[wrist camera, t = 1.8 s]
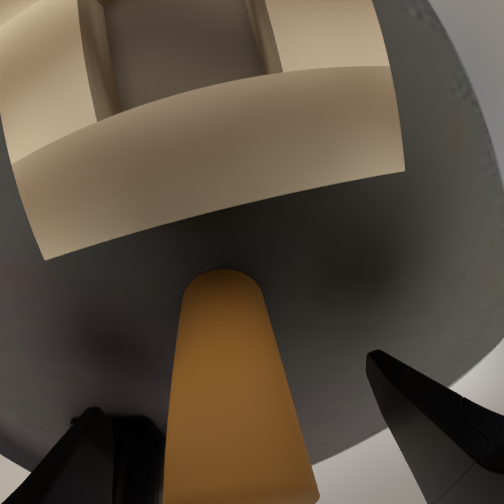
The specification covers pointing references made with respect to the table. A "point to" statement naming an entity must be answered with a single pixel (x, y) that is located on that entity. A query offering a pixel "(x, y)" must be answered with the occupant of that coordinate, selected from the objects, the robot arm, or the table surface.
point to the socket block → (187, 108)
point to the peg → (232, 403)
